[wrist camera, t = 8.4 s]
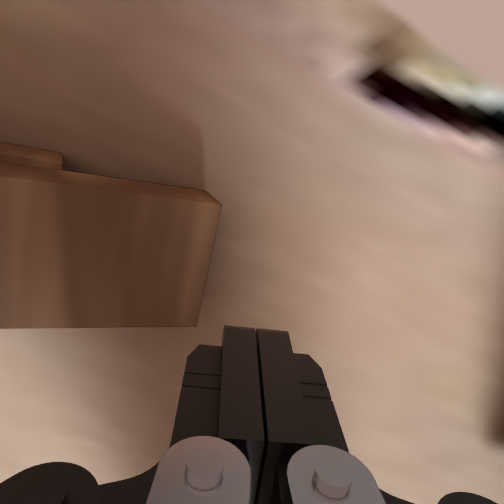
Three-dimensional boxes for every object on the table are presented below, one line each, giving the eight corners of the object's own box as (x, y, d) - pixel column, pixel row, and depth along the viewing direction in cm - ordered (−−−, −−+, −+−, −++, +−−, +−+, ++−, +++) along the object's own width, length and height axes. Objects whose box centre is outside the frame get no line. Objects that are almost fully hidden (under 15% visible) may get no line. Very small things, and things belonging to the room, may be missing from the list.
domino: (222, 204, 15) (-146, 157, 11) (196, 326, 17) (-135, 330, 12) (205, 190, 17) (-118, 145, 12) (183, 302, 18) (-111, 297, 14)
